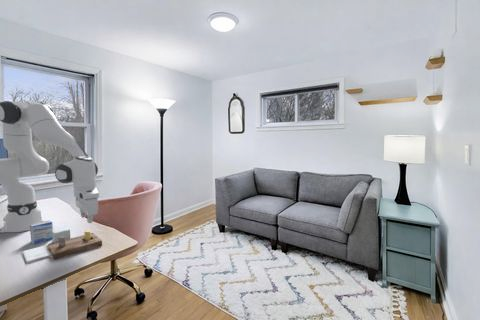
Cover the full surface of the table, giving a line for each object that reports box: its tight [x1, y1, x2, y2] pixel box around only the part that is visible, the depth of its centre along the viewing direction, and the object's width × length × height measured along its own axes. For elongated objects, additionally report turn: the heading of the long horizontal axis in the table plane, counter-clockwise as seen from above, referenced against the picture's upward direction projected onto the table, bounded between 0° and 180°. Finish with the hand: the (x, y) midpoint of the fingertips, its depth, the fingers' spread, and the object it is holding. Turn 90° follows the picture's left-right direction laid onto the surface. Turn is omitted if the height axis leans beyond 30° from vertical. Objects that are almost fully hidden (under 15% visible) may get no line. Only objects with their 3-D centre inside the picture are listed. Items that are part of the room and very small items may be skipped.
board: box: [47, 232, 103, 260], centre depth 110 cm, size 13×18×6 cm
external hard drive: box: [22, 244, 53, 264], centre depth 103 cm, size 2×8×12 cm
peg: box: [84, 230, 92, 241], centre depth 114 cm, size 2×2×6 cm
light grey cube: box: [51, 226, 71, 243], centre depth 116 cm, size 6×6×6 cm
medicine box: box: [29, 220, 54, 245], centre depth 117 cm, size 8×4×9 cm, turn 143°
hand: (86, 219), depth 113 cm, fingers open, 8 cm apart
